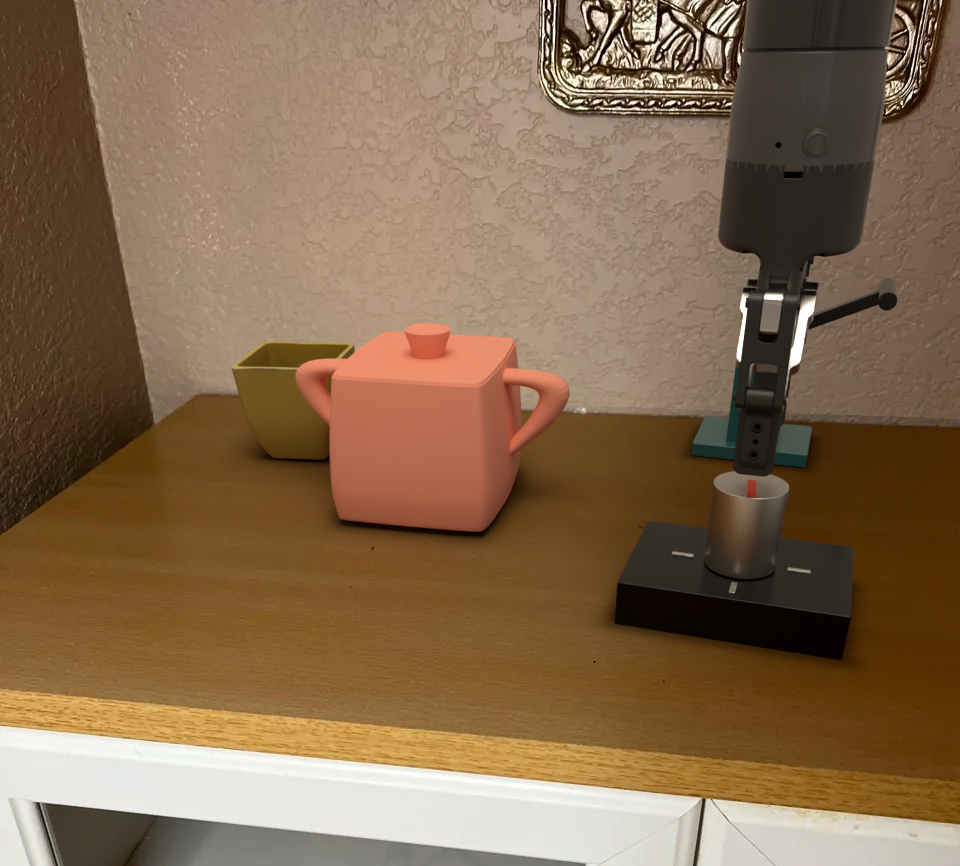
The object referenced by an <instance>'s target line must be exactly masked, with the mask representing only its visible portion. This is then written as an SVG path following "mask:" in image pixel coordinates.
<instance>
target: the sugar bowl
mask: <svg viewBox="0 0 960 866" xmlns="http://www.w3.org/2000/svg"><path fill="white" fill-rule="evenodd" d="M451 329H452V328H451V327H450V326H448V325H446V324H444V323H439V322H418V323H414V324H411V325H409V326H406V327H405V328H404V331H385V332H383V333H381V334H378V335H377V336H375V337H374V338H372V339H371V340H369V341H368V342H367V343H365V344H364V345H362V346H361V347H360V348H358V349H357V350H355V353H353V354H352V355H351V356H350V357H349V358H348V359H338V358H336V359H317V360H312V361H308V362H306V363H304V364H302V365H301V366H300V367H299V368H298V369H297V371H296V374H295V376H296V383H297V386H298V389H299V390H300V392H301V394H302V396H303V397H304V399H305V400H306V402H307V403H308V404H309V406H310V407H311V408H312V409H313V410H314V411H315V412H316V413H317V414H318V415H319V416H320V417H321V418H322V419H323V420H324V421H325V422H326V423H327V424H328V425H329V426H330V454H329V467H330V468H329V469H330V482H331V483H330V485H331V493H332V498H333V503H334V506H335V510H336V514H337V516H338V519H340V520H343V521H350V522H360V523H370V524H378V525H379V524H380V525H391V526H399V527H400V526H401V527H409V528H410V527H412V528H421V529H423V528H424V529H435V530H447V531H461V532H476V533H477V532H478V533H479V532H483V531H484V530H486V529H487V528H488V527H489V526H490V525H491V523H493V521H494V519H495V518H496V517H497V515H498V514H499V512H500V511H501V510H502V508H503V506H504V505H505V503H506V502H507V500H508V498H509V496H510V494H511V492H512V489H513V486H514V484H515V481H516V479H517V475H518V470H519V466H520V462H521V457H522V449H523V448H525V447H526V446H527V445H529V444H530V443H532V442H533V441H534V440H535V439H537V438H538V437H539V436H540V435H542V434H543V433H544V432H545V431H546V430H547V429H548V428H549V427H551V425H553V424H554V423H555V421H557V419H558V418H559V417H560V416H561V414H562V413H563V411H564V410H565V408H566V406H567V404H568V401H569V398H570V386H569V384H568V382H567V381H566V380H565V379H564V378H563V377H561V376H559V375H558V374H554V373H551V372H548V371H542V370H538V369H529V368H519V363H518V362H519V361H518V351H517V343H516V340H515V339H514V338H513V337H506V336H492V335H491V336H490V335H475V334H474V335H472V334H457V333H455V334H453V333H451ZM331 375H332V380H331V394H330V393H329V391H328V389H327V387H326V384H325V378H326V377H327V376H331ZM521 387H524V388H528V389H531V390H534V391H536V392H537V394H538V401H537V404H536V406H535V407H534V409H533V411H532V412H531V414H530V415H529V416H528V419H527V420H526V421H525V423H524V424H522V423H523V421H522V420H523V418H522V417H523V416H522V398H521V397H522V395H521Z"/></svg>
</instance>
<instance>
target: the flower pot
mask: <svg viewBox="0 0 960 866" xmlns="http://www.w3.org/2000/svg"><path fill="white" fill-rule="evenodd" d="M355 347H356V346H355V344H354V343H352V342H298V341H264V342H261V343H260V344H259V345H257V346H256V347H255V348H254V349H252V350H251V351H250V352H249V353H247V354H246V355H244V356H243V357H241V358H240V359H239V360H238V361H236V362H235V363H233V365H231V372H232V376H233V379H234V382H235V385H236V389H237V393H238V396H239V400H240V403H241V407H242V410H243V414H244V417H245V420H246V422H247V424H248V427H249V429H250V431H251V433H252V434H253V436H254V438H255V439H256V441H257V442H258V443H259V444H260V446H261V447H262V448H263V449H264V451H266V453H267V454H268V455H269V456H270V457H272V458H273V459H290V460H291V459H295V460H296V459H297V460H318V461H319V460H325V459H327V458H328V457H329V456H330V426H329V425H328V424H327V423H326V422H325V421H324V420H323V419H322V418H321V417H320V416H319V415H318V414H317V413H316V412H315V411H314V410H313V409H312V408H311V407H310V406H309V404H308V403H307V402H306V400H305V399H304V397H303V396H302V394H301V392H300V390H299V389H298V386H297V383H296V376H295V374H296V371H297V369H298V368H299V367H300V366H301V365H302V364H304V363H306V362H308V361H312V360H317V359H336V358H338V359H348V358H349V357H350V356H351V355H352V354H353V353H355V352H356V350H355ZM331 380H332V375H331V376H327V377H326V378H325V384H326V387H327V389H328V391H329V393H330V394H331Z"/></svg>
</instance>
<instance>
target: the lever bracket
mask: <svg viewBox="0 0 960 866" xmlns="http://www.w3.org/2000/svg"><path fill="white" fill-rule="evenodd" d="M741 325H742V321H741V320H740V329H739V332H740V331H741ZM739 336H740V334H739ZM739 336H738V337H739ZM735 359H736V360H735V367H734V368H735V369H734V375H733V382H732V390H731V398H730V407H729V414H728V418H727V417H720V416H719V417H717V416H709V415H708V416H707V415H705V416H704V418H703V420H702V422H701V423H700V426H699V428H698V430H697V433H696V435H695V438H694V439H693V441H692V445H691V453H690V455H691V456H694V457H703V458H712V459H722V460H732V461H734V453H735V445H736V437H737V429H738V421H739V413H740V409H737V408H735V401H733V397H734V392H735V391H736V392H737V385H738V377H739V369H738V367H737V358H735ZM754 374H755V373H754ZM754 374H753V376H752V381H751V386H753V382H754ZM812 432H813V426H811V425H801V424H800V425H799V424H790V423H784V424H783V425H782V426H781V427H779V433H778V440H777V447H776V453H775V460H774V466H775V465H777V466H786V467H795V468H806V465H807V461H808V454H809V447H810V443H811V438H812Z"/></svg>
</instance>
